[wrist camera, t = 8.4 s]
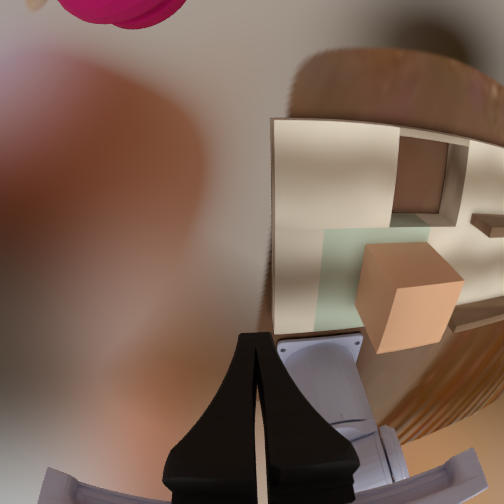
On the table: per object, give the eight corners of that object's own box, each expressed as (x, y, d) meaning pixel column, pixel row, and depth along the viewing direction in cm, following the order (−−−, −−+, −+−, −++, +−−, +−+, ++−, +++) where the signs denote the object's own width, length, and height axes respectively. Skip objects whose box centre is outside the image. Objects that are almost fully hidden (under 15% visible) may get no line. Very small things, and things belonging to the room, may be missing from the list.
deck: (500, 286, 24) (512, 298, 22) (271, 313, 24) (274, 334, 22) (534, 156, 17) (551, 164, 15) (269, 117, 17) (273, 120, 15)
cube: (411, 298, 21) (439, 341, 16) (354, 304, 21) (376, 354, 16) (426, 241, 18) (464, 280, 14) (365, 243, 18) (397, 288, 14)
